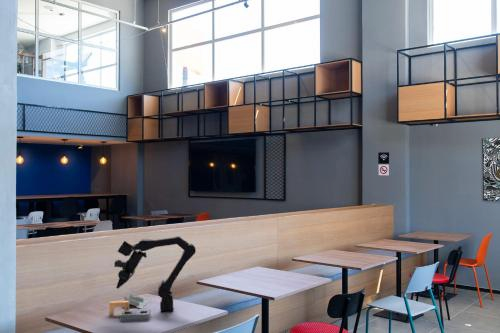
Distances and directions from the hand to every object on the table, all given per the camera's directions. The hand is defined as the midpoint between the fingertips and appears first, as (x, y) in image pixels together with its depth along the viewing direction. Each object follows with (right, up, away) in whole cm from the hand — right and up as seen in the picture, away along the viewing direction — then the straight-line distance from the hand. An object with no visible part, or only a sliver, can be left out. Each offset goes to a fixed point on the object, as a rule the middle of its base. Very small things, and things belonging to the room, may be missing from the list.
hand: (118, 286), depth 255 cm
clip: (+1, -14, -1) cm, 14 cm away
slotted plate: (+11, -14, -9) cm, 20 cm away
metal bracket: (+5, -15, +16) cm, 23 cm away
